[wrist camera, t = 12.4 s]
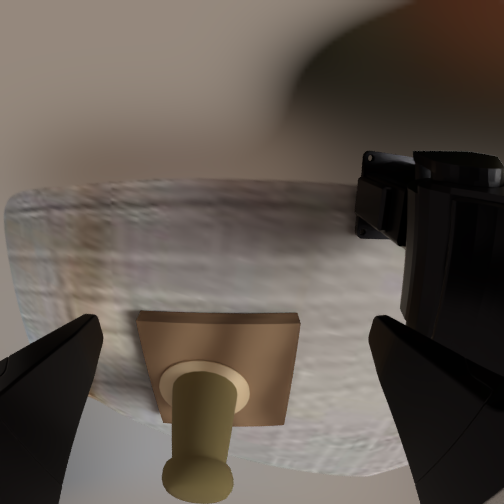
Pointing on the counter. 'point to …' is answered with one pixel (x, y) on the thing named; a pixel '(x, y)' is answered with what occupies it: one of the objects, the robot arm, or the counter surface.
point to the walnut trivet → (224, 357)
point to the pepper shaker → (200, 438)
